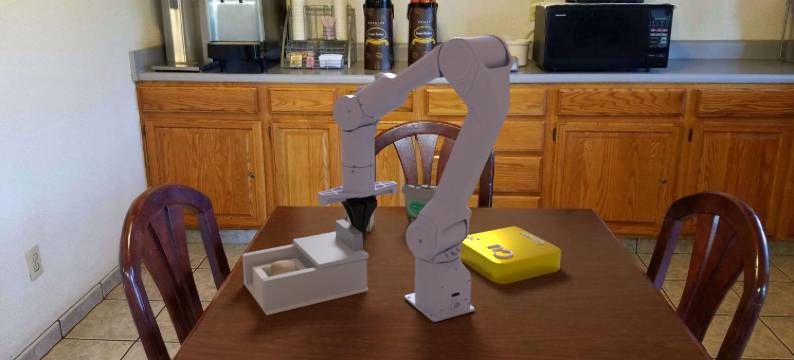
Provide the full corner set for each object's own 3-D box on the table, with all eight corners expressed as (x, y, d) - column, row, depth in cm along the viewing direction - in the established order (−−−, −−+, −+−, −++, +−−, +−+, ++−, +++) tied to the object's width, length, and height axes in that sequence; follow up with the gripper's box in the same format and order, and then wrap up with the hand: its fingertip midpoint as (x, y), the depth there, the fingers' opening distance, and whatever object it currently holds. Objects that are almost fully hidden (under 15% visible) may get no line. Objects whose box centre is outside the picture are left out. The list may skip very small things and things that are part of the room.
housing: (367, 290, 110) (367, 259, 108) (266, 315, 101) (264, 282, 100) (337, 263, 120) (336, 235, 119) (243, 283, 112) (241, 253, 110)
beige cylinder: (298, 291, 108) (297, 267, 107) (275, 296, 106) (274, 271, 105) (291, 282, 111) (290, 258, 110) (269, 287, 110) (267, 262, 108)
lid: (368, 258, 108) (368, 237, 107) (319, 268, 104) (318, 247, 103) (339, 234, 119) (338, 215, 118) (293, 243, 115) (292, 223, 113)
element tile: (564, 271, 118) (566, 247, 117) (498, 287, 112) (499, 262, 110) (514, 244, 131) (516, 222, 130) (453, 257, 124) (453, 234, 123)
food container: (394, 231, 137) (394, 187, 134) (402, 222, 142) (402, 179, 140) (450, 237, 133) (451, 192, 130) (456, 227, 139) (457, 184, 136)
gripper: (384, 153, 116) (385, 223, 120) (310, 163, 110) (313, 236, 114) (403, 162, 111) (403, 235, 114) (326, 173, 104) (328, 250, 108)
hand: (359, 236), depth 114 cm, fingers closed
